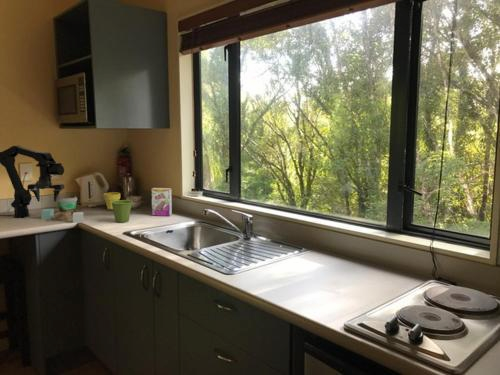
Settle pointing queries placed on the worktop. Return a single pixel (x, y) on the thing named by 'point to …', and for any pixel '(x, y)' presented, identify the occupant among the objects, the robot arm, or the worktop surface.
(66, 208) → the food container
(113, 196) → the plant pot
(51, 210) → the teal cube
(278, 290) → the worktop surface
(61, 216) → the walnut block
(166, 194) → the candy bar box
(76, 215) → the grey cube
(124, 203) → the plant pot
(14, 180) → the robot arm
